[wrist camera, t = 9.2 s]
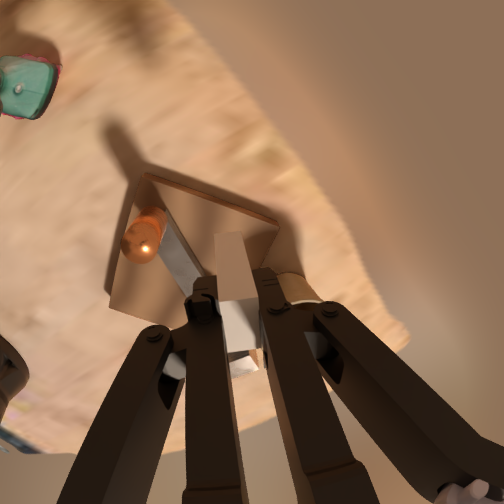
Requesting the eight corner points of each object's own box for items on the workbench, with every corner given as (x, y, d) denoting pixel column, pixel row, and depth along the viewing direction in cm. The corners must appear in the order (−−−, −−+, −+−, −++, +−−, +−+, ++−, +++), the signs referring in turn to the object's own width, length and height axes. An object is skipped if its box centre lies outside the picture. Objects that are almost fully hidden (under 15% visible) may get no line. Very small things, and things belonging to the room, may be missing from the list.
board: (112, 298, 37) (108, 308, 35) (145, 172, 30) (140, 176, 28) (220, 332, 41) (221, 342, 39) (276, 221, 35) (280, 228, 33)
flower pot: (235, 295, 39) (240, 341, 31) (286, 246, 36) (305, 284, 29) (283, 328, 42) (296, 372, 35) (331, 286, 40) (355, 326, 32)
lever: (256, 341, 40) (264, 385, 33) (226, 353, 40) (230, 397, 33) (166, 192, 29) (151, 218, 22) (130, 212, 30) (107, 243, 23)
